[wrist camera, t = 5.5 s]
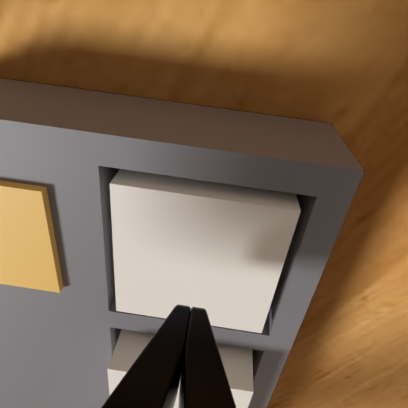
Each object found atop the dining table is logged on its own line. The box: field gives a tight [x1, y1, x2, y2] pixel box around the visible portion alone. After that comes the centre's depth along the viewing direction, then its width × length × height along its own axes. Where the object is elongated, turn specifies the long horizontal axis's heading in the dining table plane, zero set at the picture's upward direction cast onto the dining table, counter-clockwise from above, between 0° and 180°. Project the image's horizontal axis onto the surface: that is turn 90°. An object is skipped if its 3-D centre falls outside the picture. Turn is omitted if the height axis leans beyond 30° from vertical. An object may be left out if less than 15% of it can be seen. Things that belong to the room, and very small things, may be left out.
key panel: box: [0, 78, 365, 408], centre depth 17 cm, size 23×14×4 cm, turn 174°
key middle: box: [107, 329, 254, 408], centre depth 15 cm, size 6×6×2 cm
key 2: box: [110, 169, 301, 333], centre depth 12 cm, size 6×6×2 cm
